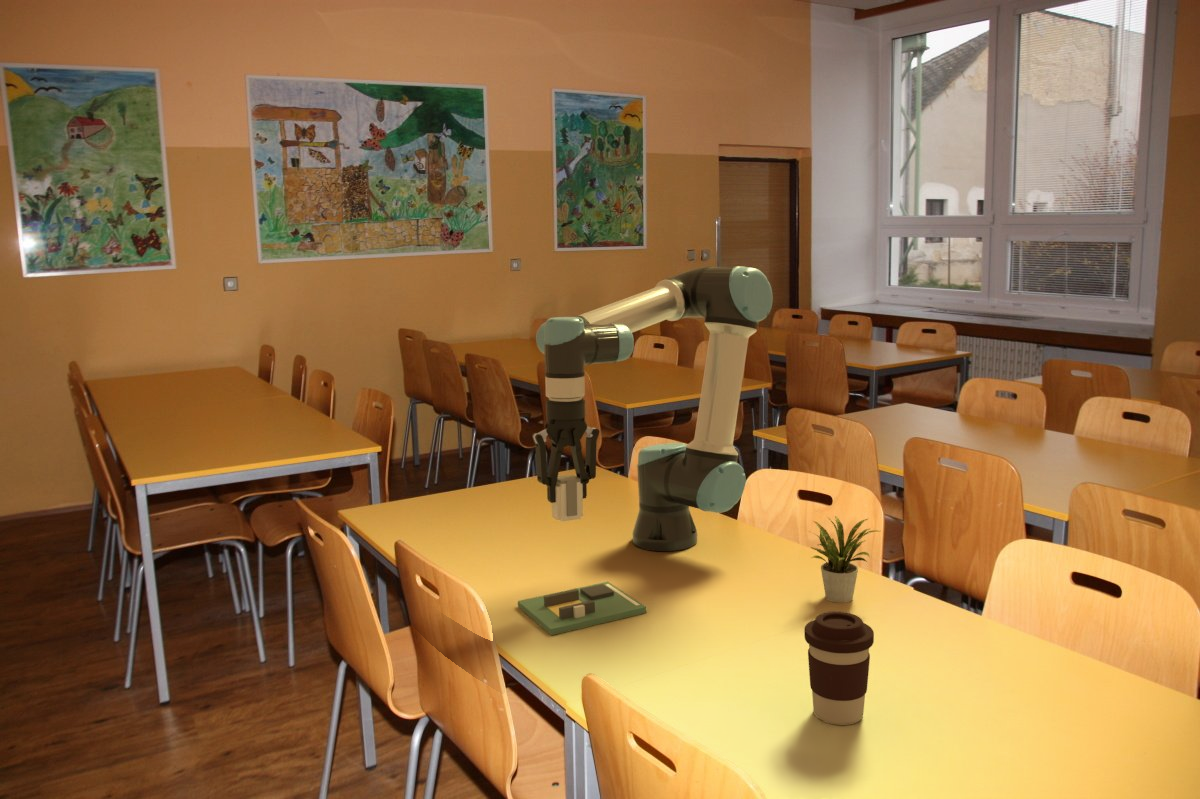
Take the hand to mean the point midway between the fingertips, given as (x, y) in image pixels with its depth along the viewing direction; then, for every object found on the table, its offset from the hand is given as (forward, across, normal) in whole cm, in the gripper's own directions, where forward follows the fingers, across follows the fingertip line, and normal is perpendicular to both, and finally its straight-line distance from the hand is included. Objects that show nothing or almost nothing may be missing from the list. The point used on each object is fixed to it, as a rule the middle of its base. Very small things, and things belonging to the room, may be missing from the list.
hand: (567, 516), depth 190 cm
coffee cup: (+18, -17, +61) cm, 66 cm away
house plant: (+17, -48, +25) cm, 57 cm away
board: (+18, -1, +4) cm, 18 cm away
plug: (0, 0, 0) cm, 0 cm away
